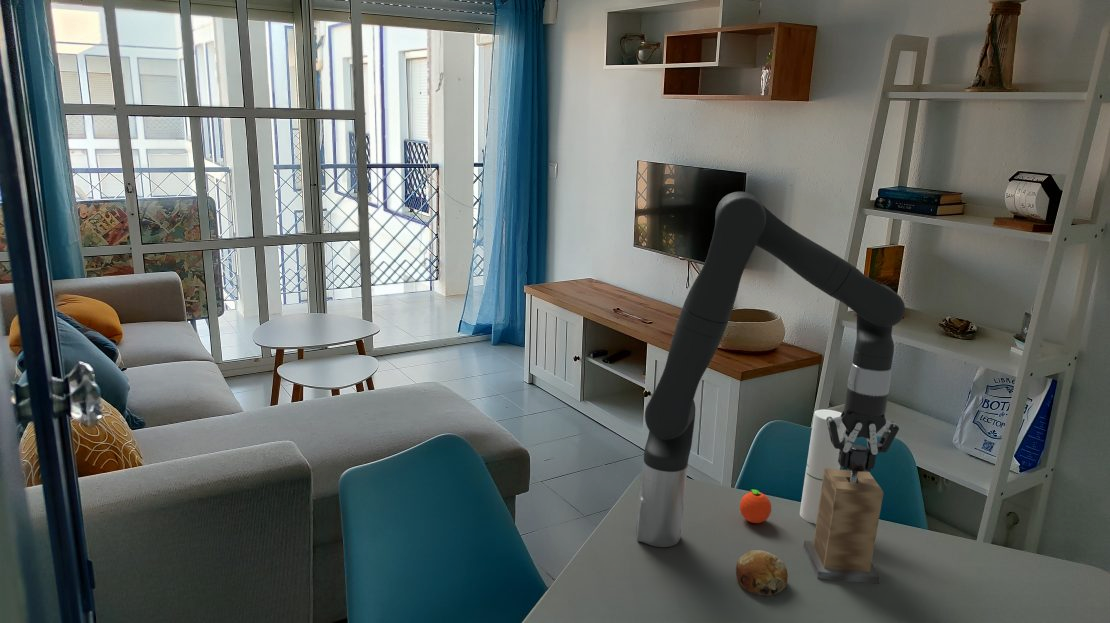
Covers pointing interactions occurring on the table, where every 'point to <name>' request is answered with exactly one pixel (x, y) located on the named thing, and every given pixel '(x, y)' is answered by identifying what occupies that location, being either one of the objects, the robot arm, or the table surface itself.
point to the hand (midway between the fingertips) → (855, 468)
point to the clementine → (755, 506)
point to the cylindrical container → (819, 462)
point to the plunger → (857, 460)
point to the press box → (846, 528)
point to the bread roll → (761, 573)
